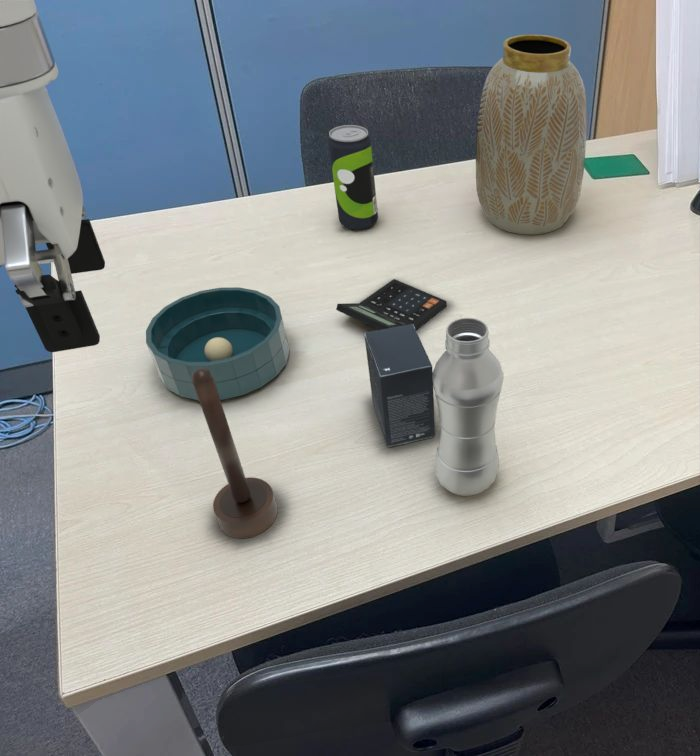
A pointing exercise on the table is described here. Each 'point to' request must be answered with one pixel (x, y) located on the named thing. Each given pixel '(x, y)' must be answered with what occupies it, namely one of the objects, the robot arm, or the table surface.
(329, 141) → the beverage can
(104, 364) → the table surface
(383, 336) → the box
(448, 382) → the plastic bottle
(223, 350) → the ball
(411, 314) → the calculator
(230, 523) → the brown plunger
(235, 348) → the bowl
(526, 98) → the vase
